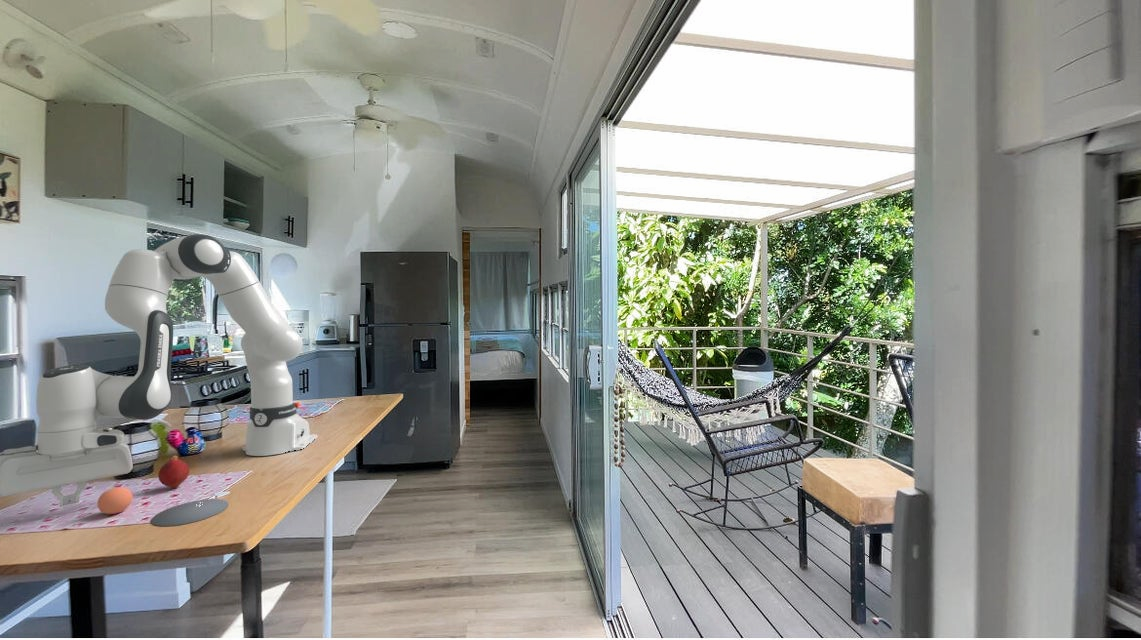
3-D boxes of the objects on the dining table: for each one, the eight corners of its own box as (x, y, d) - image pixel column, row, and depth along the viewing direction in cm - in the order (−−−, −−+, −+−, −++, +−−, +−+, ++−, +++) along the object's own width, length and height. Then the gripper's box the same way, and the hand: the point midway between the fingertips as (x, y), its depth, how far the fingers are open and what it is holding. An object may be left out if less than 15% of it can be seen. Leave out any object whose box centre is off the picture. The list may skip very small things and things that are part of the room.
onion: (171, 493, 112) (170, 460, 111) (152, 491, 113) (151, 459, 113) (195, 484, 117) (194, 453, 117) (177, 482, 118) (176, 451, 118)
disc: (186, 500, 108) (186, 499, 108) (242, 499, 108) (242, 498, 108) (133, 526, 95) (133, 525, 95) (197, 526, 95) (197, 525, 95)
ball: (115, 507, 104) (114, 483, 104) (139, 507, 104) (139, 483, 104) (89, 518, 98) (89, 493, 98) (116, 518, 98) (115, 492, 98)
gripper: (-11, 454, 91) (-9, 524, 91) (132, 434, 106) (134, 494, 106) (-7, 448, 95) (-5, 514, 95) (130, 429, 110) (131, 487, 110)
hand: (69, 503), depth 101 cm, fingers closed
